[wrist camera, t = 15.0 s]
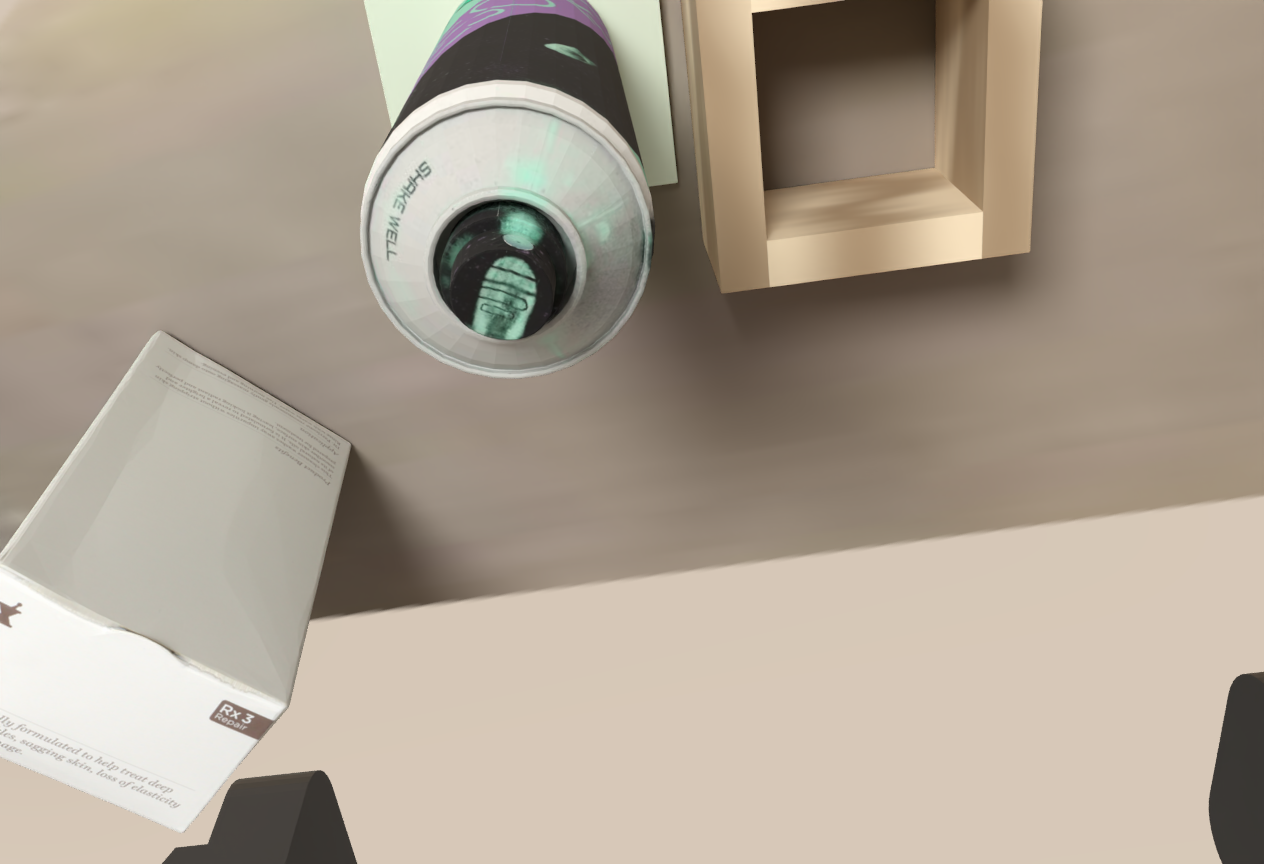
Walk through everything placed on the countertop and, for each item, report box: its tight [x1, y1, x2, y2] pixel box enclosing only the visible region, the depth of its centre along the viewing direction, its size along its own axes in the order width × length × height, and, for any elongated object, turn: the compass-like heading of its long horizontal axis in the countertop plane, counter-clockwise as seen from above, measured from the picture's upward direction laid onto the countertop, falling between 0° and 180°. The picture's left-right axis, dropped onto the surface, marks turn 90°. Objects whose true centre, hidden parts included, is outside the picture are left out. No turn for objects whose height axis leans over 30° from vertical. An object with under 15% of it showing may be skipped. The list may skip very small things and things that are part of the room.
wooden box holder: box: [681, 0, 1042, 294], centre depth 35 cm, size 10×10×5 cm
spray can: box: [360, 0, 655, 379], centre depth 27 cm, size 6×6×20 cm
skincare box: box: [0, 331, 351, 833], centre depth 36 cm, size 8×6×15 cm
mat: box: [364, 0, 678, 187], centre depth 36 cm, size 9×9×1 cm
